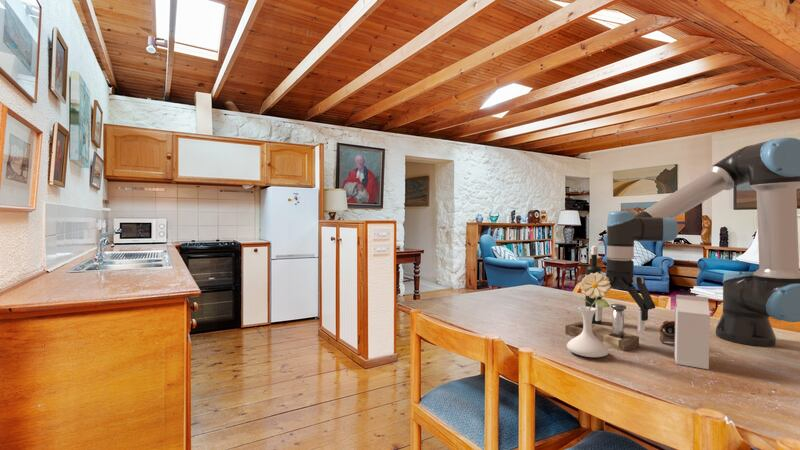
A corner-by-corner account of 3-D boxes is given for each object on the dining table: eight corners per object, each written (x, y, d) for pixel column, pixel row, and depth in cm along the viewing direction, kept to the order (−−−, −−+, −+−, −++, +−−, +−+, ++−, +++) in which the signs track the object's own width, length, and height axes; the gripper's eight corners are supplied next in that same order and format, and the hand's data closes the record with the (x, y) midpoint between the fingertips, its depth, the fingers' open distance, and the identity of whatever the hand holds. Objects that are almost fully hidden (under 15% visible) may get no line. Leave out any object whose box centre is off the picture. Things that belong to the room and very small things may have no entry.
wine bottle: (583, 319, 153) (584, 245, 152) (598, 320, 152) (599, 245, 151) (588, 323, 147) (589, 246, 146) (603, 324, 146) (605, 246, 146)
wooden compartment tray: (638, 346, 121) (639, 336, 121) (623, 351, 117) (623, 341, 117) (580, 330, 138) (580, 321, 138) (565, 334, 134) (565, 325, 134)
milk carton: (708, 370, 102) (710, 299, 102) (676, 364, 106) (677, 296, 106) (704, 361, 109) (706, 295, 108) (674, 356, 112) (675, 292, 112)
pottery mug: (704, 350, 120) (697, 329, 118) (674, 361, 121) (666, 340, 119) (679, 329, 131) (672, 310, 129) (652, 340, 133) (644, 321, 131)
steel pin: (621, 347, 120) (621, 307, 119) (607, 344, 123) (608, 304, 123) (628, 345, 122) (628, 305, 122) (614, 341, 125) (615, 303, 125)
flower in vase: (558, 350, 117) (559, 269, 117) (584, 345, 122) (586, 267, 121) (594, 365, 105) (596, 275, 105) (623, 359, 110) (624, 273, 109)
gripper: (669, 262, 113) (667, 333, 114) (590, 255, 134) (589, 315, 135) (656, 264, 109) (655, 337, 110) (577, 256, 130) (576, 318, 131)
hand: (618, 325), depth 122 cm, fingers open, 13 cm apart
